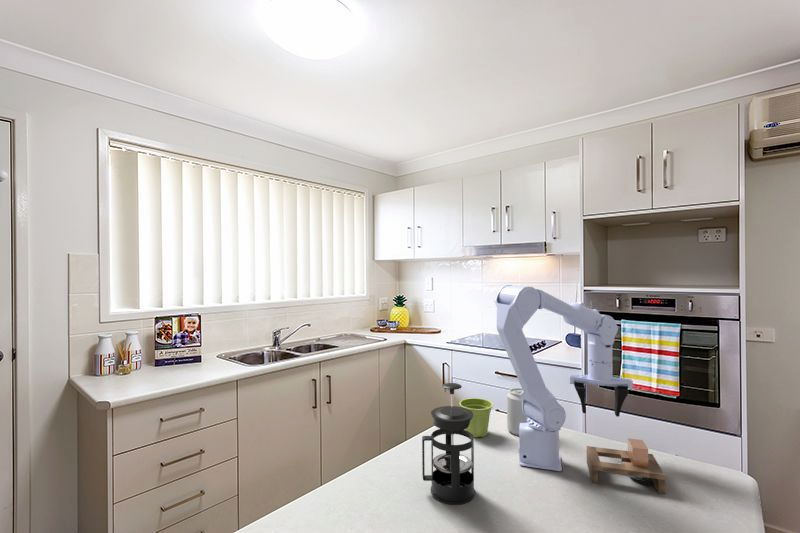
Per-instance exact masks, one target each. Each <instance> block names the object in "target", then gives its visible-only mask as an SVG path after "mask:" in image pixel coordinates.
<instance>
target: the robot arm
mask: <svg viewBox="0 0 800 533" xmlns="http://www.w3.org/2000/svg"><path fill="white" fill-rule="evenodd" d="M494 303H495V305H496V330H497V332H498V335H499V338H500V340H501V343H502V344H503V347H504V350H505V352H506V354H507V357H508V358H509V361H510V363H511V366H512V368H513V370H514V372H515V375H516V377H517V380H518V382H519V385H520V388H522V389H523V391H522V393H521V394H520V397H521V400H522V411H523V413H524V414H525V415H526V416H527V421H528V423H520V428H519V436H518V438H519V439H518V440H519V444H518V445H517V446H518V449H517V450H518V451H517V453H518V454H519V455H518V456H519V466H522V467H530V468H535V469H542V470H550V471H554V472H555V471H556V472H562V471H563V469H562V460H561V455H560V431H561V428H562V427H563V426H564V424H565V422H566V418H567V414H566V410H565V408H564V407H563V406H562V405H561V404H560V403H559V402H558V399H557V398H556V396H555V395H554V394H553V393H552V392H551V391H550V390H549V388H547V386H546V384H545V382H544V380H543V377H542V374H541V372H540V370H539V367H538V365H537V362H536V360H535V357H534V355H533V353H532V351H531V348H530V345H529V343H528V340H527V338H526V336H525V333H524V332H523V329H524V326H525V325H526V324H527V323H528V321H529V320H530V319H531V318H532V317H533V316H534V315H535V313H536V312H537V310H542V309H545V310H547V311H550V312H552V313H554V314H557V315H559V316H562V318H563V321H564V322H565V323H566V324H568V325H570V326H573V327H574V328H576V329H580V330H582V331H583V332H584V334H586V335H587V374H568V376H569V377H568V378H569V379H568V380H569V384H571V385H573V386H574V389H575V391H576V393H577V395H578V399H579V400H580V406H581V411H582V414H586V413H587V408H586V405H587V404H586V386H585V385H591V386H601V387H605V386H606V387H613V388H614V415H615V416H616V417H617V418H618V417H620V414H621V409H622V406H623V404H624V402H625V400H626V398H627V397H628V395H629V390H630V389H631V390H632V389H633V388H634V385H633V384H634V381H633V380H632V379H630V378H622V377H616V376H613V370H614V369H613V368H614V367H613V345H614V343H615V336H616V335H617V333H618V331H619V325H617V322H616V320H615V319H614V317H612V316H611V315H608V314H601V313H600V311H599V309H596V308H593V309H592V308H589V307H587V306H586V304H585V303H584V302H583V301H577V302H571V303H567V302H565V301H563V300H562V299H560V298H558V297H556V296H554V295H552V294H550V293H548V292H546V291H544V290H542V289H538V288H535V287H533V286H519V285H512V284H506V285H503V286H502V287H500V289H499V290H498V292H497V294H496V297H495V299H494Z"/></svg>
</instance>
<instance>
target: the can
mask: <svg viewBox="0 0 800 533" xmlns="http://www.w3.org/2000/svg"><path fill="white" fill-rule="evenodd" d="M508 391H509V392H508V393H507V394H506V428H507V430H508V431H509V432H510V433H511V434H512V435H515V436H518V437H519V428H520V423H528V421H527V416H526V415H525V414H524V413H523V411H522V400H521V397H520V394H521V393H522V391H523V389H522V387H513V388H510V389H509V390H508Z"/></svg>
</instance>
